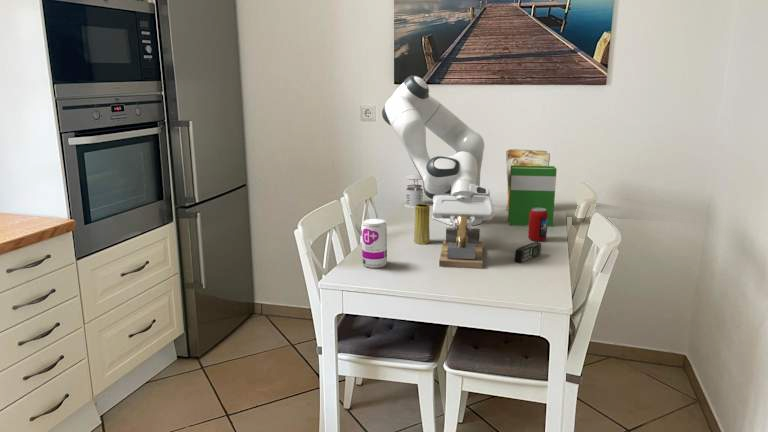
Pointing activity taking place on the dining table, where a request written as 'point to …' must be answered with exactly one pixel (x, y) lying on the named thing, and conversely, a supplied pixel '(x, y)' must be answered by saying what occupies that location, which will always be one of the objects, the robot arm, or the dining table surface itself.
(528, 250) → the mobile phone
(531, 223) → the beverage can
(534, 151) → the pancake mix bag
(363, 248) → the supplement can
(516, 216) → the hardback book
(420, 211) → the vase
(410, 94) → the robot arm
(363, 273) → the dining table surface
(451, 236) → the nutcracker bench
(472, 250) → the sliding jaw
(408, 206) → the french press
